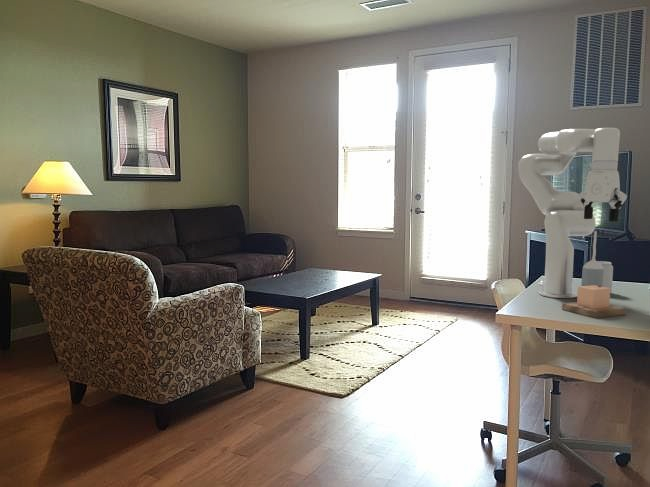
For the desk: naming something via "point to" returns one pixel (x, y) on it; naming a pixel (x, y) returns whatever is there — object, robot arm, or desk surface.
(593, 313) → the stand
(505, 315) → the desk surface
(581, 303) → the light orange block
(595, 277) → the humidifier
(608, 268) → the can
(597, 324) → the desk surface
